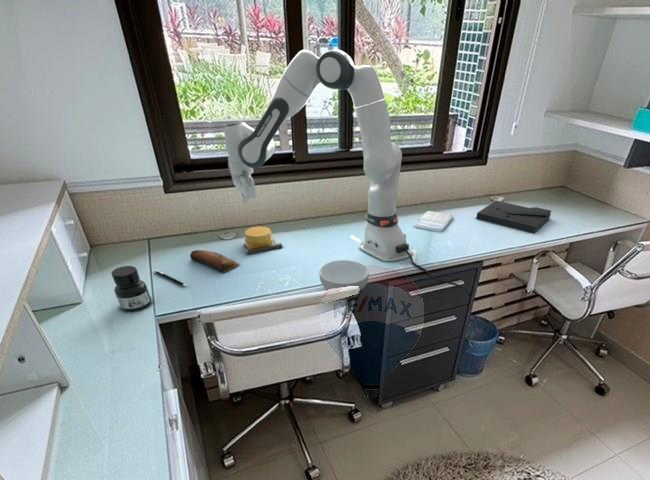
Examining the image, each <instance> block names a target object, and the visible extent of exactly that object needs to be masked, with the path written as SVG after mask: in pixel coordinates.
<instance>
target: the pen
mask: <svg viewBox="0 0 650 480" xmlns="http://www.w3.org/2000/svg"><path fill="white" fill-rule="evenodd" d="M153 272H154V273H155V274H158V275H160V276H162V277H163V278H166V279H168V280H170V281H172V282H174V283H176V284H178V285H181V286H182V287H188V285H187V284H186V283H184V282H182V281H180V280H178V279H176V278H174V277H172V276H169V275H167V274H165V273H164V272H162V271H159V270H157V269H153Z"/></svg>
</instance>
